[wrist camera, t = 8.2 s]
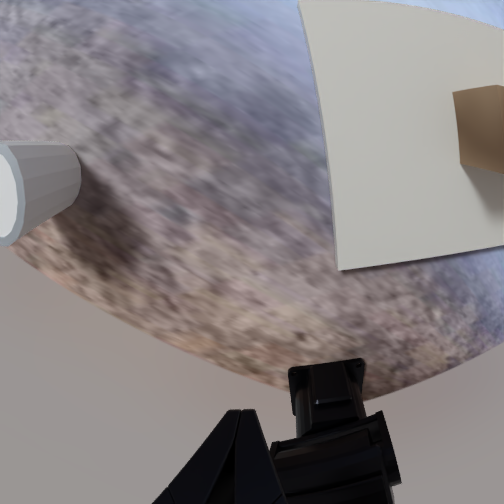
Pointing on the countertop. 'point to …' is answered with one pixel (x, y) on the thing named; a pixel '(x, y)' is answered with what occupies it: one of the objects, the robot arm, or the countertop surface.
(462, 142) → the walnut block
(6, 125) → the countertop surface
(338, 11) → the cutting board
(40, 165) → the white tapered cup
